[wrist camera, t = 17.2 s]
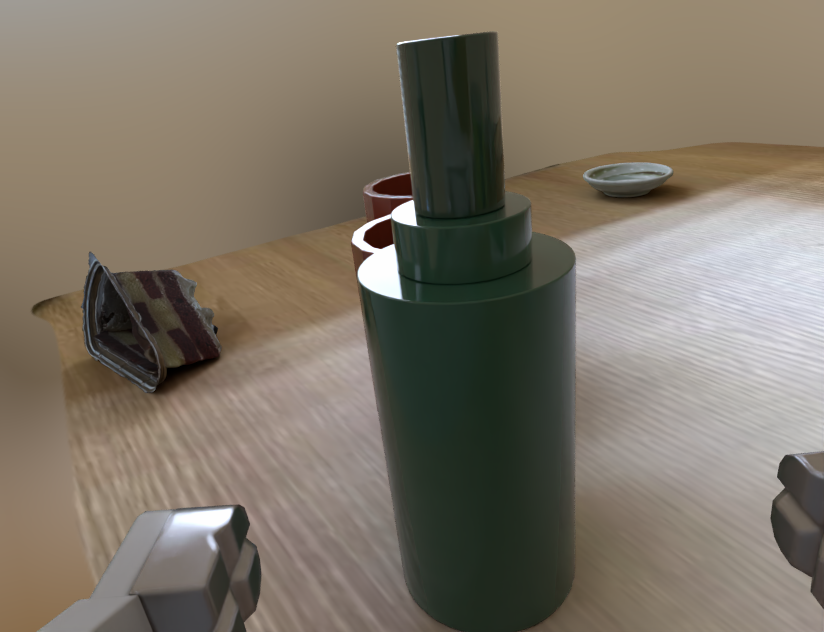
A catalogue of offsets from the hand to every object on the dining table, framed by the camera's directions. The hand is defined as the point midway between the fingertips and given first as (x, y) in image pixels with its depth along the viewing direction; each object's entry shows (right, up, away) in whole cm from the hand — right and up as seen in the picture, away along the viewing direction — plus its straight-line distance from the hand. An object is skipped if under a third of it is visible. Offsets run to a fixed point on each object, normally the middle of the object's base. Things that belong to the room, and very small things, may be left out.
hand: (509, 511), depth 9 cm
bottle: (+1, -6, +13) cm, 15 cm away
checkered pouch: (-19, 0, +34) cm, 39 cm away
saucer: (+23, +17, +60) cm, 67 cm away
